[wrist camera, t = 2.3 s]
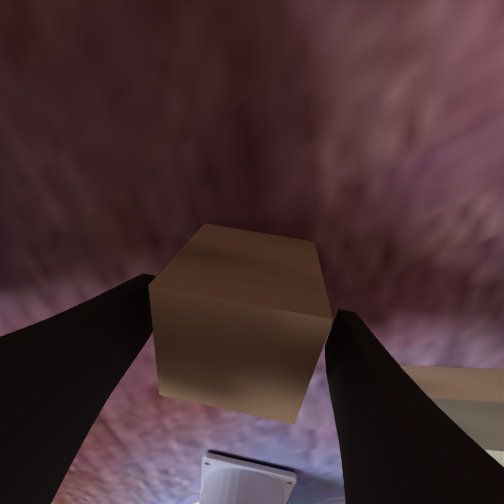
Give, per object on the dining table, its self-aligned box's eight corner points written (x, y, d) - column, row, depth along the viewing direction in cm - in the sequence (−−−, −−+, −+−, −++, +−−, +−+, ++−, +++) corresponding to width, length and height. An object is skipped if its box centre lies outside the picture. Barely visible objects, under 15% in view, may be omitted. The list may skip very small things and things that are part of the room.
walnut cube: (292, 323, 13) (294, 424, 8) (202, 306, 13) (159, 394, 9) (314, 240, 11) (333, 319, 6) (205, 222, 11) (148, 285, 6)
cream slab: (465, 438, 15) (517, 529, 12) (351, 429, 17) (368, 509, 13) (502, 365, 12) (588, 459, 9) (360, 360, 14) (385, 440, 10)
